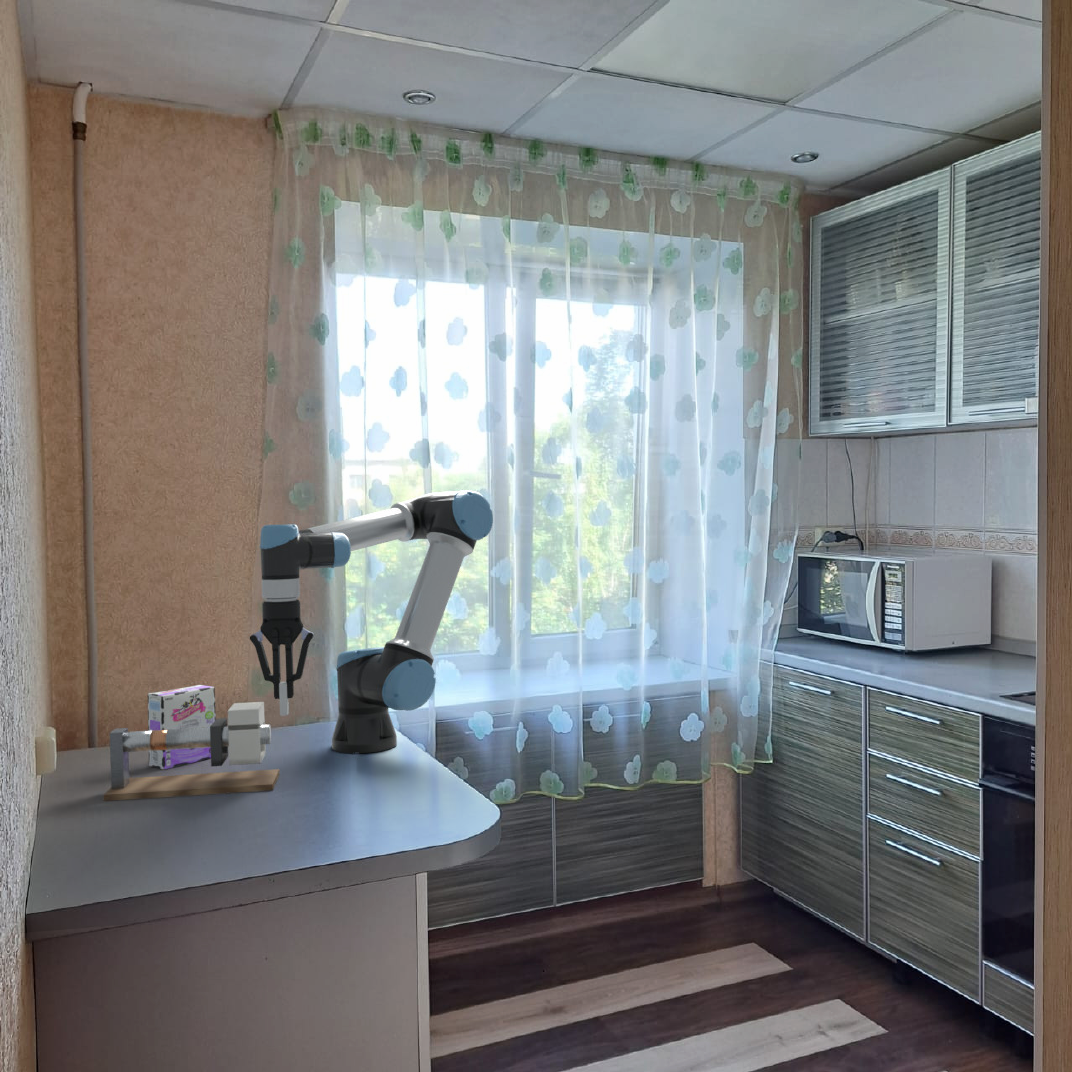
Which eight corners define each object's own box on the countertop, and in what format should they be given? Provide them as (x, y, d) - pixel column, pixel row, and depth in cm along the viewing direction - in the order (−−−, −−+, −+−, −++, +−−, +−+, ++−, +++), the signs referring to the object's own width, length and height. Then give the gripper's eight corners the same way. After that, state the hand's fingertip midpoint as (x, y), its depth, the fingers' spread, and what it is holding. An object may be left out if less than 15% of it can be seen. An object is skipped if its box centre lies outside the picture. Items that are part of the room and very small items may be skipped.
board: (279, 774, 206) (279, 769, 206) (272, 790, 194) (272, 784, 194) (120, 784, 201) (120, 778, 201) (103, 800, 189) (103, 794, 189)
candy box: (163, 770, 212) (160, 695, 212) (148, 766, 216) (145, 692, 215) (218, 757, 223) (215, 685, 223) (202, 753, 227) (200, 683, 226)
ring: (228, 756, 202) (227, 718, 202) (221, 765, 194) (220, 726, 194) (218, 756, 202) (217, 718, 202) (211, 766, 194) (209, 726, 194)
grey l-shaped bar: (272, 774, 202) (270, 720, 202) (269, 779, 198) (268, 724, 198) (117, 783, 197) (115, 728, 197) (111, 789, 193) (109, 732, 193)
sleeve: (265, 754, 203) (263, 701, 203) (260, 763, 196) (258, 709, 195) (235, 755, 203) (234, 703, 202) (229, 765, 195) (227, 710, 194)
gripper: (315, 597, 204) (318, 709, 205) (251, 599, 202) (254, 712, 203) (312, 599, 197) (315, 716, 197) (245, 602, 195) (249, 719, 195)
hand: (284, 714), depth 200 cm, fingers closed
